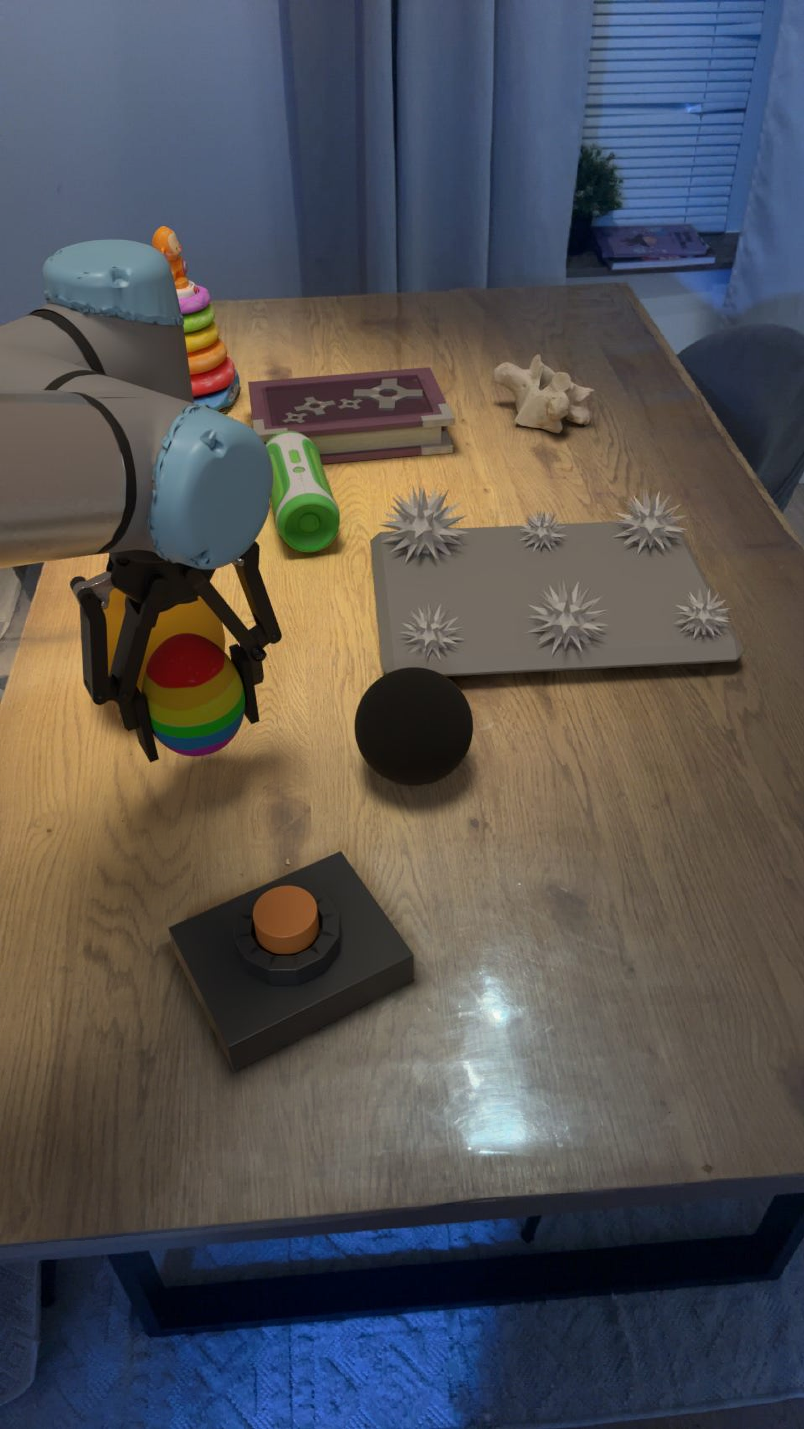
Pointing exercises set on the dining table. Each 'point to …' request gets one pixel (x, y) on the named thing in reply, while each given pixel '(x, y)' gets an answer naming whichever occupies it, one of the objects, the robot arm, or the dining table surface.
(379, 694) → the decorative ball
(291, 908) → the orange button
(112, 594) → the apple
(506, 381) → the decorative object
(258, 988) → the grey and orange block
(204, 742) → the decorative egg
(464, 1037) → the dining table surface
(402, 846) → the dining table surface
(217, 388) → the stacking toy
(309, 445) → the speaker
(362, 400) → the book
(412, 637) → the decorative tray
